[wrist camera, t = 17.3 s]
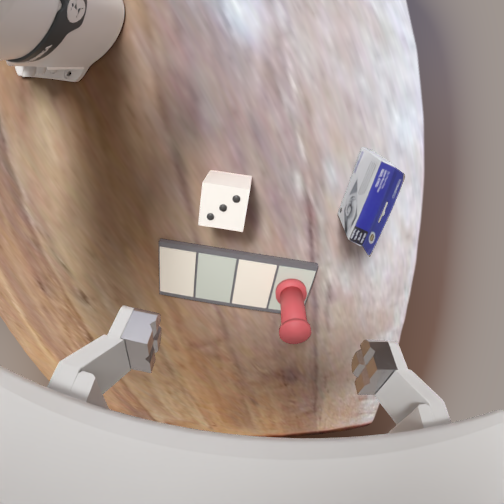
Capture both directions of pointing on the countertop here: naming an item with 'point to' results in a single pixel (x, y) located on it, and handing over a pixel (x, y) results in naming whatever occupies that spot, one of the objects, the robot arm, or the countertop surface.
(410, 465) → the robot arm
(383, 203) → the ink box
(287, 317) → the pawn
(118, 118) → the countertop surface
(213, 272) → the game board
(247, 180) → the die
